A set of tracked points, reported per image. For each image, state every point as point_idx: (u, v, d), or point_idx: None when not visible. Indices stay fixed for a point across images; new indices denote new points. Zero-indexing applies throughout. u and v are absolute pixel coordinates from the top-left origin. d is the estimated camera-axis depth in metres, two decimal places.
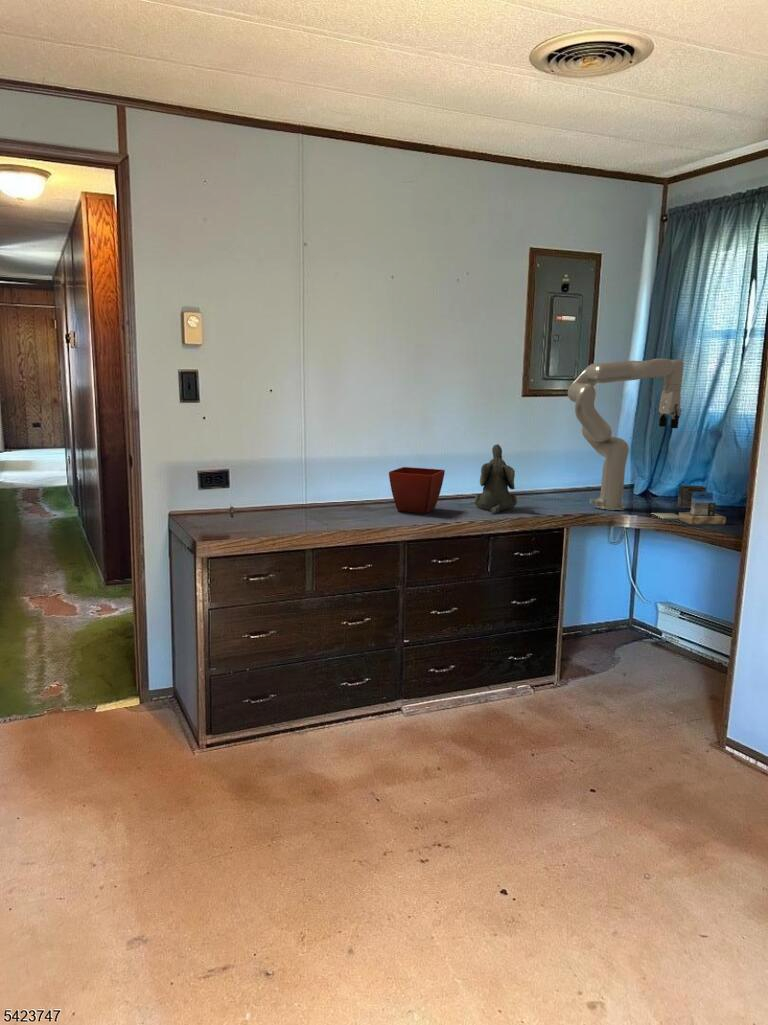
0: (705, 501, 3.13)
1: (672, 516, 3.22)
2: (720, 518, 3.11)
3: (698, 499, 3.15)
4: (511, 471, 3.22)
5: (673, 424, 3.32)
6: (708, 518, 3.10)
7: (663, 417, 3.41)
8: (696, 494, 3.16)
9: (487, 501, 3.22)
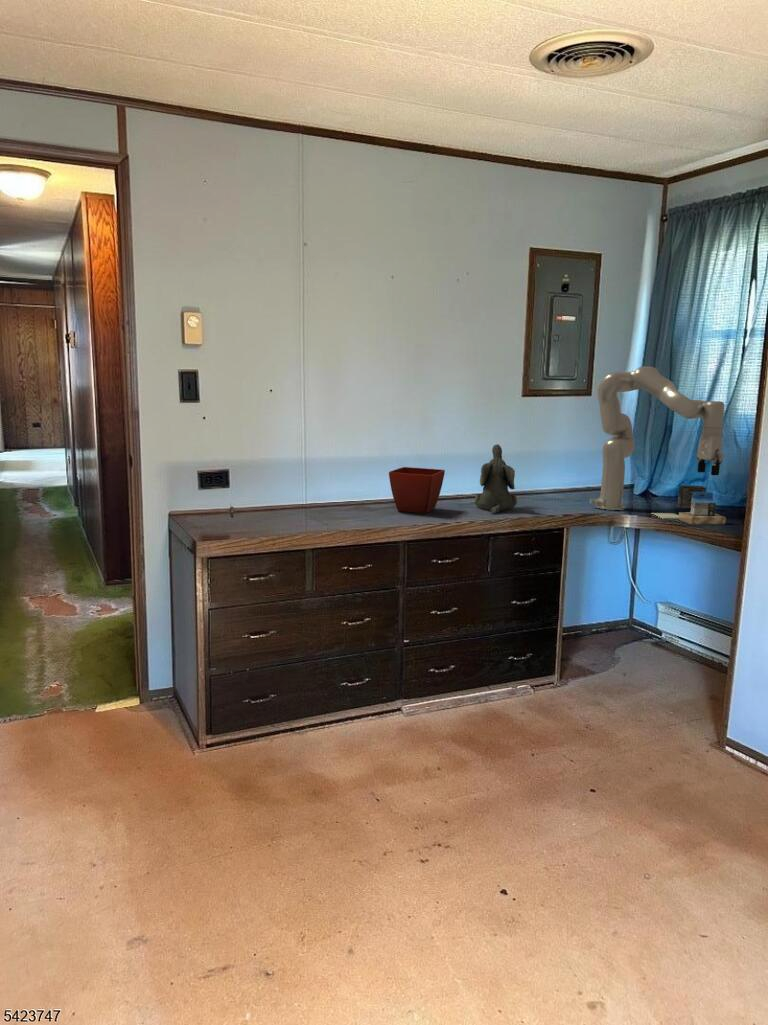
0: (705, 501, 3.13)
1: (672, 516, 3.22)
2: (720, 518, 3.11)
3: (697, 499, 3.15)
4: (511, 471, 3.22)
5: (714, 471, 3.06)
6: (708, 518, 3.10)
7: (702, 462, 3.15)
8: (696, 494, 3.16)
9: (487, 501, 3.22)
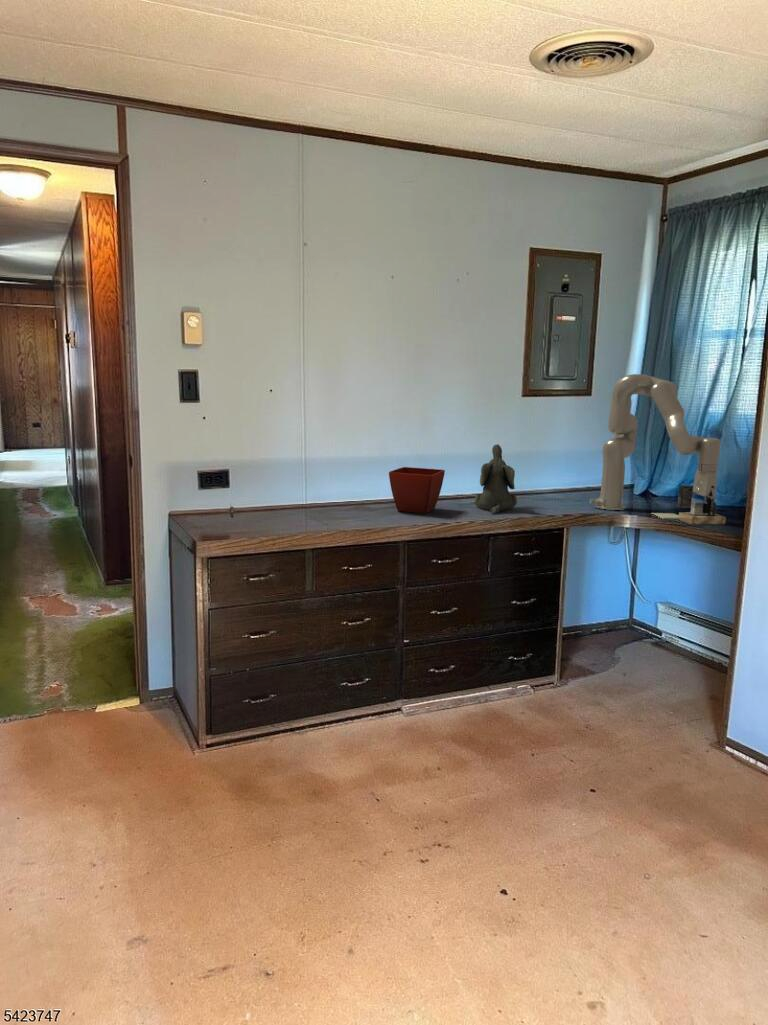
0: None
1: (672, 516, 3.22)
2: (720, 518, 3.11)
3: (698, 499, 3.14)
4: (511, 471, 3.22)
5: (705, 509, 3.11)
6: (708, 518, 3.10)
7: None
8: (696, 494, 3.15)
9: (487, 501, 3.22)
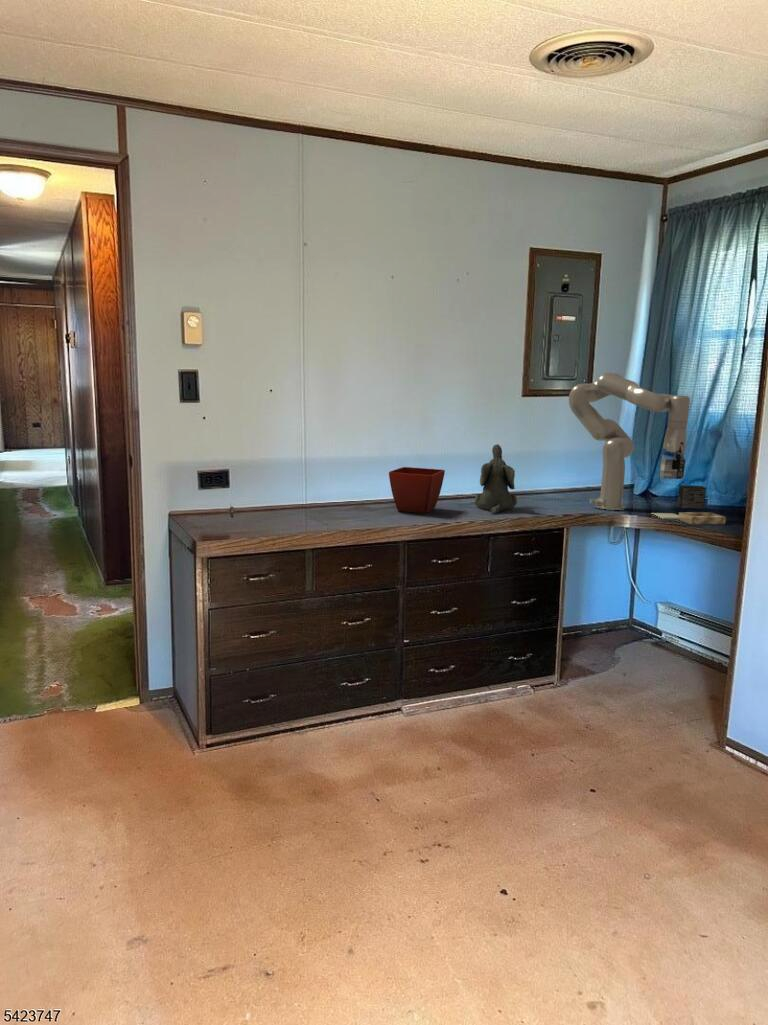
0: None
1: (672, 516, 3.22)
2: (720, 518, 3.11)
3: (668, 456, 3.20)
4: (511, 471, 3.22)
5: (675, 465, 3.18)
6: (708, 518, 3.10)
7: None
8: (666, 451, 3.21)
9: (487, 501, 3.22)
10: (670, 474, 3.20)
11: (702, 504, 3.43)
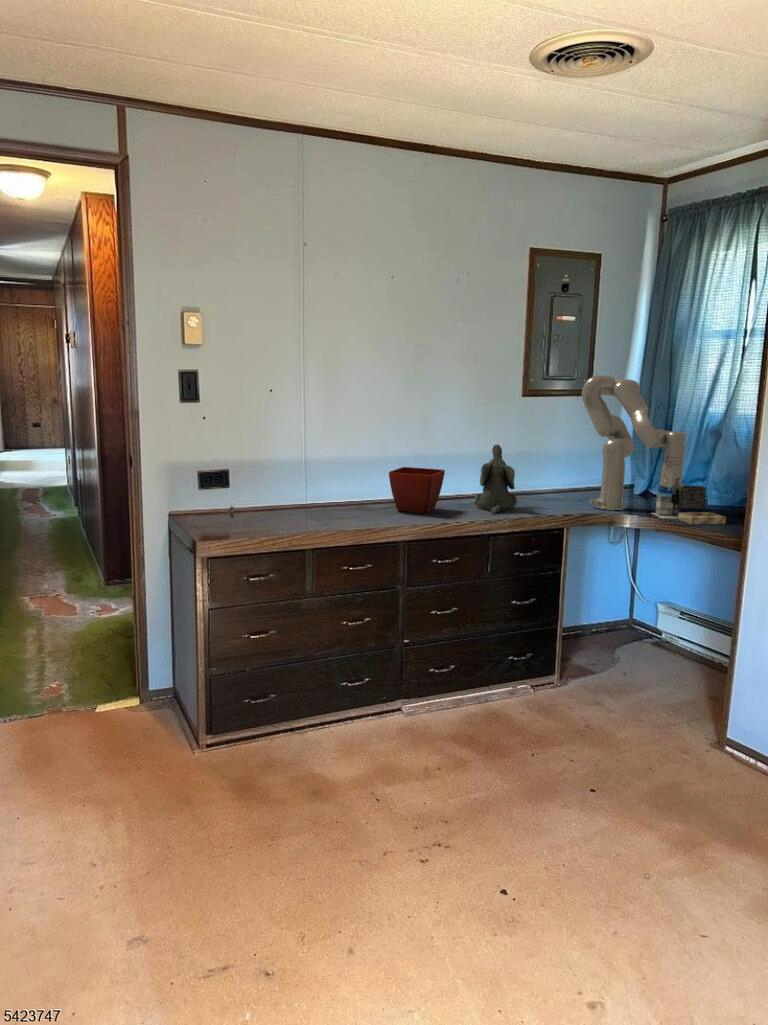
0: (670, 495, 3.23)
1: (672, 516, 3.22)
2: (720, 518, 3.11)
3: (663, 493, 3.24)
4: (511, 471, 3.22)
5: (674, 499, 3.18)
6: (708, 518, 3.10)
7: None
8: (661, 488, 3.25)
9: (487, 501, 3.22)
10: (666, 511, 3.23)
11: (702, 504, 3.43)
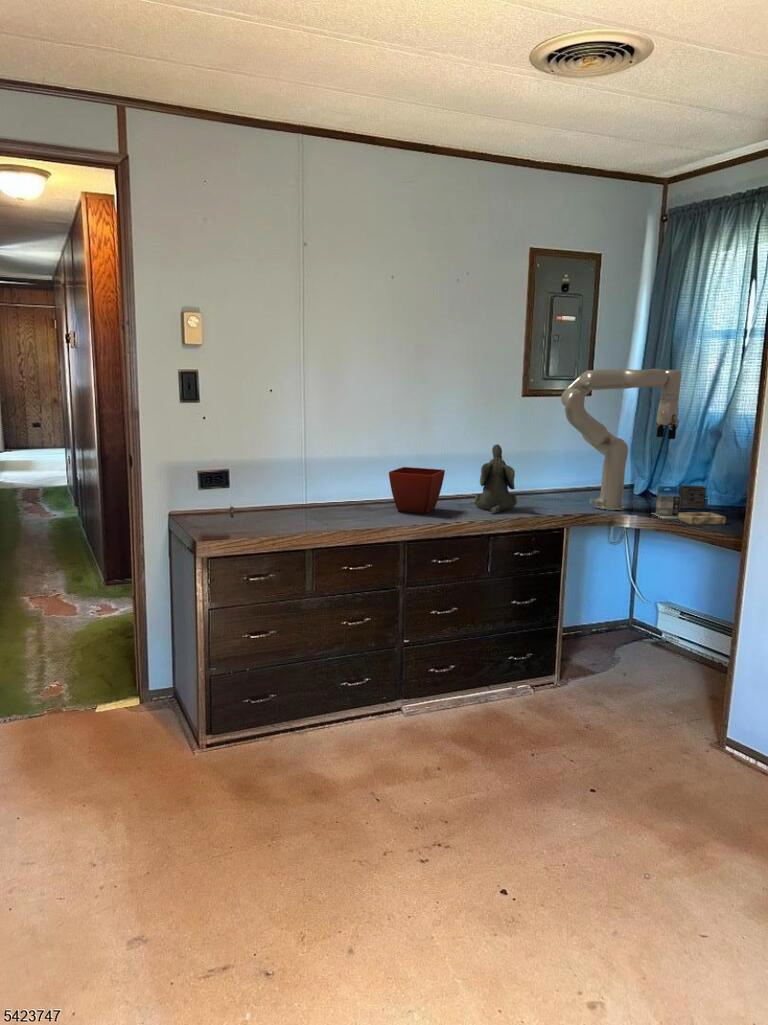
0: (670, 495, 3.23)
1: (672, 516, 3.22)
2: (720, 518, 3.11)
3: (663, 493, 3.24)
4: (511, 471, 3.22)
5: (670, 435, 3.28)
6: (708, 518, 3.10)
7: (661, 427, 3.38)
8: (661, 488, 3.25)
9: (487, 501, 3.22)
10: (666, 511, 3.23)
11: (702, 504, 3.43)
